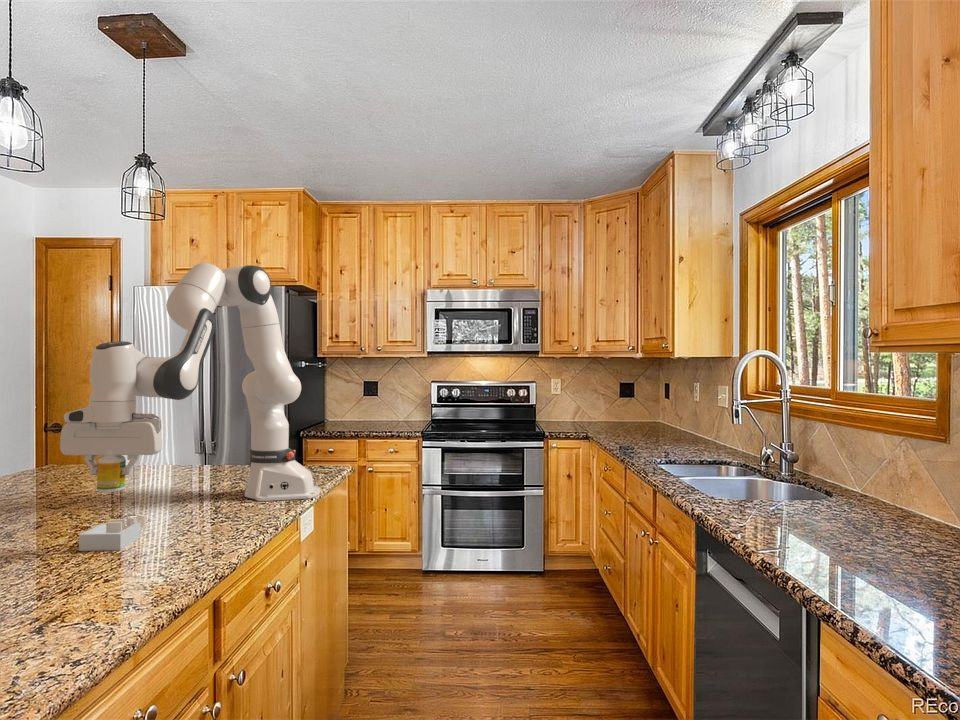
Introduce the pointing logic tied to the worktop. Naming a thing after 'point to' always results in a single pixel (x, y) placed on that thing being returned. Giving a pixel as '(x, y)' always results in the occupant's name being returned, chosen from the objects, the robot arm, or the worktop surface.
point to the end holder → (108, 538)
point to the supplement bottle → (110, 472)
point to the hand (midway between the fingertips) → (111, 474)
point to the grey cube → (115, 525)
